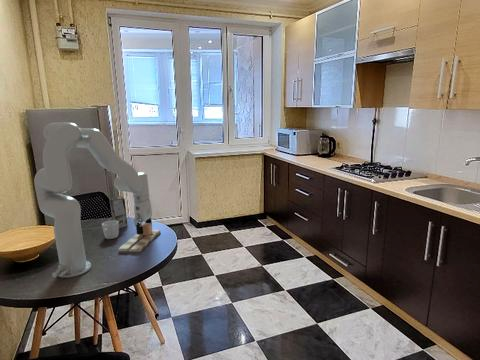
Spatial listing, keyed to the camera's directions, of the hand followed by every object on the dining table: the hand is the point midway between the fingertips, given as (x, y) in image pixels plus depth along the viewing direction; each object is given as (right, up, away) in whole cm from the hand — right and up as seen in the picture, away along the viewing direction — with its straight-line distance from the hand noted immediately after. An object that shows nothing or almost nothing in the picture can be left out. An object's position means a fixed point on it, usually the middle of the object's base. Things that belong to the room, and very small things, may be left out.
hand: (144, 230), depth 158 cm
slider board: (-1, -5, -4) cm, 7 cm away
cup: (-18, -5, +2) cm, 19 cm away
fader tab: (0, -3, +1) cm, 3 cm away
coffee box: (-20, -1, +20) cm, 28 cm away
